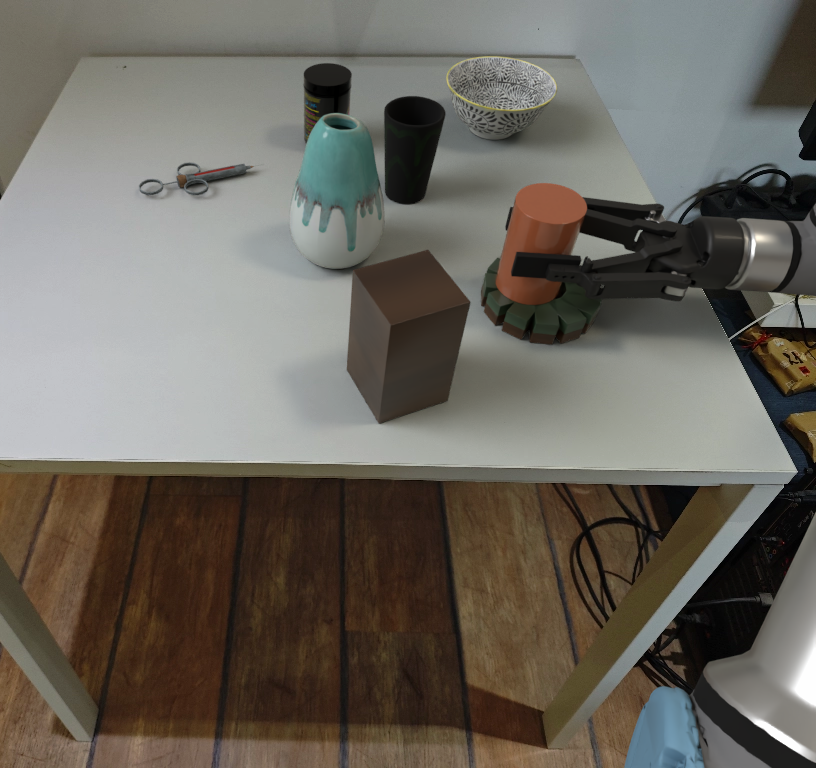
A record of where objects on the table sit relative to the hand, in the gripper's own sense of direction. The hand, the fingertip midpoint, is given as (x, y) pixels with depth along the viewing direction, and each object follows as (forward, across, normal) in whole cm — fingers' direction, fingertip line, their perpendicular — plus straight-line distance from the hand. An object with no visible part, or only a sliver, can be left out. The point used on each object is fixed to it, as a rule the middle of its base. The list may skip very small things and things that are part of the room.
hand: (511, 240), depth 78 cm
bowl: (-2, +39, -9) cm, 40 cm away
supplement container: (+23, +33, -9) cm, 41 cm away
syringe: (+39, +21, -9) cm, 45 cm away
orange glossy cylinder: (-3, 0, -6) cm, 7 cm away
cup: (+11, +21, -9) cm, 25 cm away
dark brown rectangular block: (+11, -14, -9) cm, 20 cm away
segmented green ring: (-5, 0, -9) cm, 10 cm away
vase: (+19, +8, -9) cm, 23 cm away
